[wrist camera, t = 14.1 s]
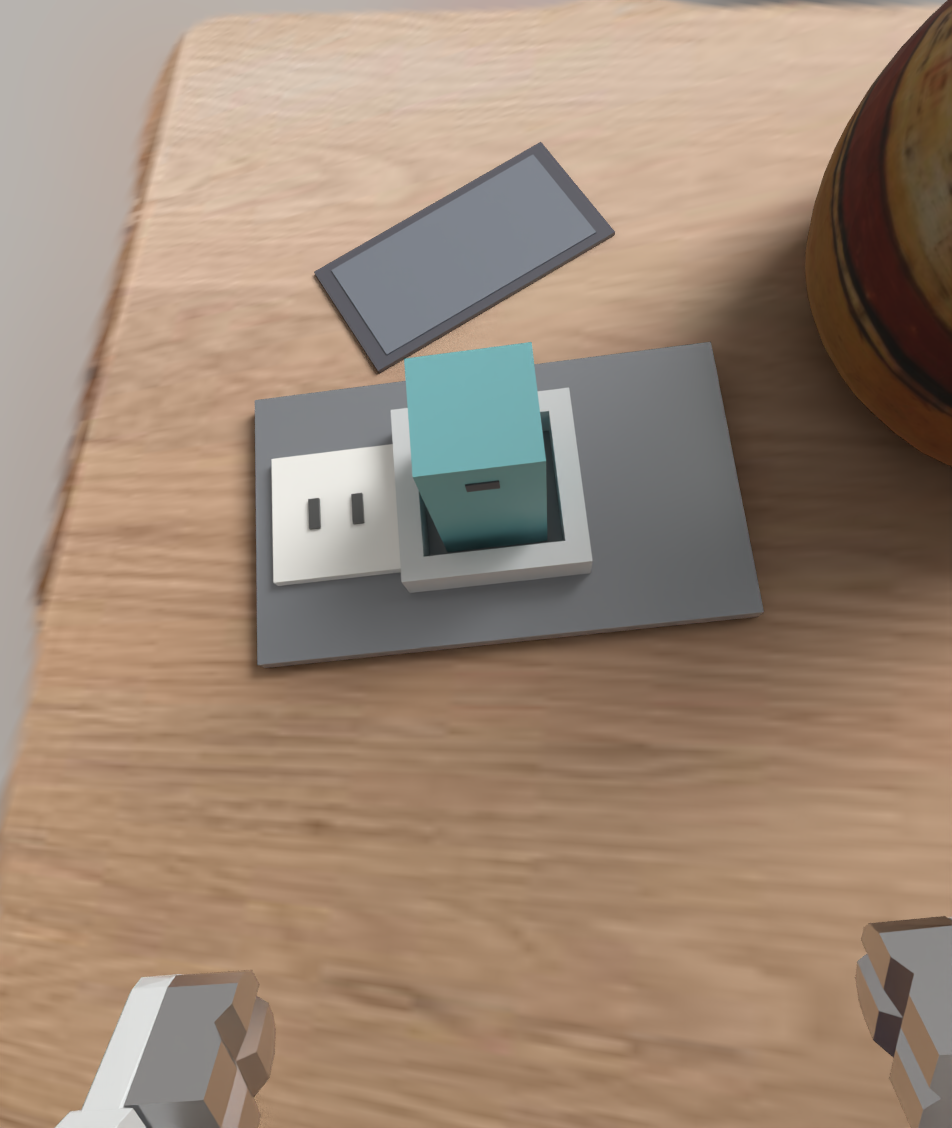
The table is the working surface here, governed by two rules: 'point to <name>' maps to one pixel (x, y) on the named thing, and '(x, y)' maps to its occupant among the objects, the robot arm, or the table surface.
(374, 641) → the grey socket base board
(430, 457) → the teal box with slot
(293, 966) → the table surface
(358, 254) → the phone
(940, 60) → the ceramic pitcher
